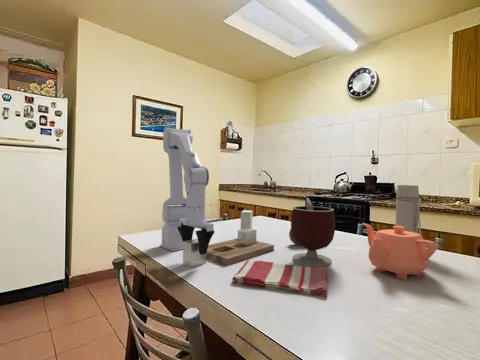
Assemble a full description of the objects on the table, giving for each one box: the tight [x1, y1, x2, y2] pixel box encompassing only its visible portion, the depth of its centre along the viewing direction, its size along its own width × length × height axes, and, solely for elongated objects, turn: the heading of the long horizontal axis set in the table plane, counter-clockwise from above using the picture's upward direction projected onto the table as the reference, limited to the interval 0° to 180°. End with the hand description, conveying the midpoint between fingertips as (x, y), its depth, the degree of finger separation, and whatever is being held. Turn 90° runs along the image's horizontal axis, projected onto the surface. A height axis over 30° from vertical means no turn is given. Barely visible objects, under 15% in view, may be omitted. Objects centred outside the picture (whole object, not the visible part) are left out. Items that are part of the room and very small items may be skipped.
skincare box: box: [240, 209, 253, 230], centre depth 115 cm, size 6×4×12 cm
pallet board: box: [207, 237, 275, 266], centre depth 94 cm, size 16×24×2 cm, turn 137°
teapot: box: [361, 222, 438, 281], centre depth 78 cm, size 16×17×14 cm
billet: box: [182, 238, 208, 268], centre depth 81 cm, size 4×6×7 cm, turn 137°
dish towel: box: [231, 259, 329, 298], centre depth 71 cm, size 17×23×3 cm
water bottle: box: [395, 184, 422, 235], centre depth 98 cm, size 9×8×25 cm
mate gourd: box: [290, 197, 336, 268], centre depth 87 cm, size 16×14×20 cm
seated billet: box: [237, 228, 258, 247], centre depth 99 cm, size 4×6×7 cm, turn 137°
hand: (195, 251), depth 81 cm, fingers open, 7 cm apart
